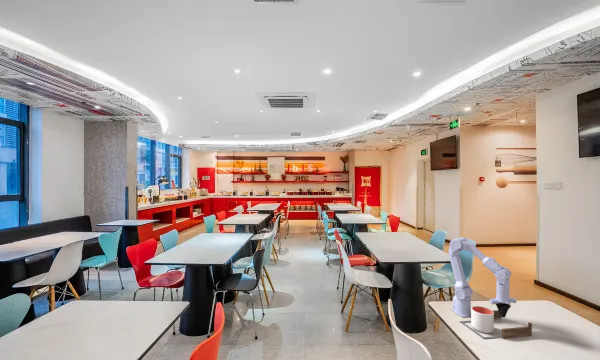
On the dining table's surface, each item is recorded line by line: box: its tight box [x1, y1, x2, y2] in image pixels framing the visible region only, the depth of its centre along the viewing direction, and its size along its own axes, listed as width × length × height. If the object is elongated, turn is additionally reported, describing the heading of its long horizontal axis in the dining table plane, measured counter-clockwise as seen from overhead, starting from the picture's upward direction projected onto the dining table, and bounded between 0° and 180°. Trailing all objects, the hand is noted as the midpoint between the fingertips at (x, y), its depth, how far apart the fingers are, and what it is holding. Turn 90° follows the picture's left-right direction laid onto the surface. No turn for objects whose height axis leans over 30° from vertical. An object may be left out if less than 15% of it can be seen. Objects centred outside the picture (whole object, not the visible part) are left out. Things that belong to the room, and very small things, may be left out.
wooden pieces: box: [492, 309, 533, 340], centre depth 152 cm, size 19×16×6 cm
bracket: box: [459, 320, 502, 340], centre depth 150 cm, size 17×10×1 cm, turn 9°
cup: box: [470, 305, 495, 334], centre depth 150 cm, size 10×10×10 cm
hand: (502, 316), depth 152 cm, fingers closed
